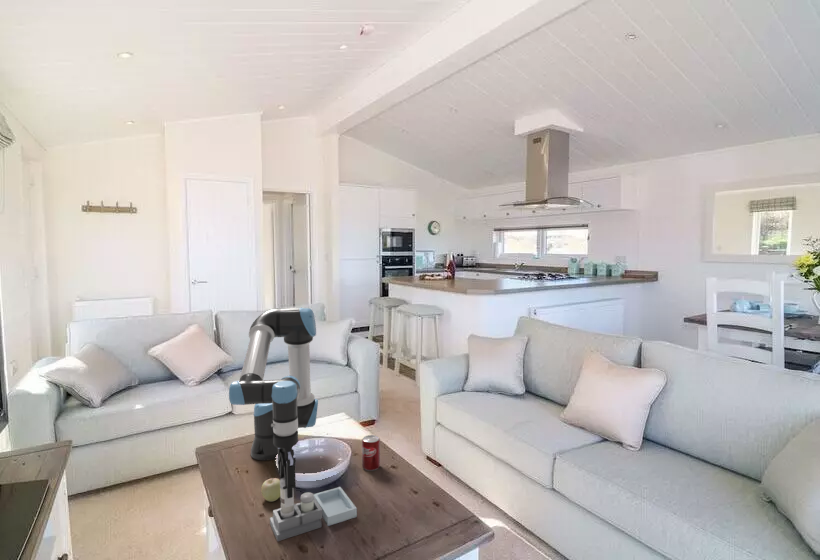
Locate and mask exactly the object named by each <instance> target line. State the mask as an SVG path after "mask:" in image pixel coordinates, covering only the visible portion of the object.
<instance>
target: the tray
mask: <svg viewBox="0 0 820 560" xmlns="http://www.w3.org/2000/svg"><path fill="white" fill-rule="evenodd" d="M313 494H314V498H315V499H316V501H317V502H318V504H319V506H320V507H321V509H322V519H323V520H324V522H325V523H326V524H325V525H326V526H327V527H330V526H332V525H336V524H338V523H342V522H345V521H347V520H348V521H349V520H350V519H351V520H352V519H354V518H357V517H358V516H357V515H358V510H357V509H358V508H357V507H356V505H355V503H354V502H353V501H352V500H351V498H350V497H349V496H348V494H347V493H346V492H345V491H344V490H343V488H342V487H341V486H338V487H334V488H331V489H328V490H324V491H321V492H317V493H313Z"/></svg>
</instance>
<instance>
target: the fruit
mask: <svg viewBox="0 0 820 560" xmlns="http://www.w3.org/2000/svg"><path fill="white" fill-rule="evenodd" d="M260 490H261V492H260V493H261V495H262V497H263V499H264V500H266V501H267V502H271V503H272V502H275V501H277V500H278V499H280V496H281V493H280V478H278V477H277V478H276V477H275V478H274V477H271V478H269V479H266V480H265V481H264V482H263V483H262V485H261V488H260Z"/></svg>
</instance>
